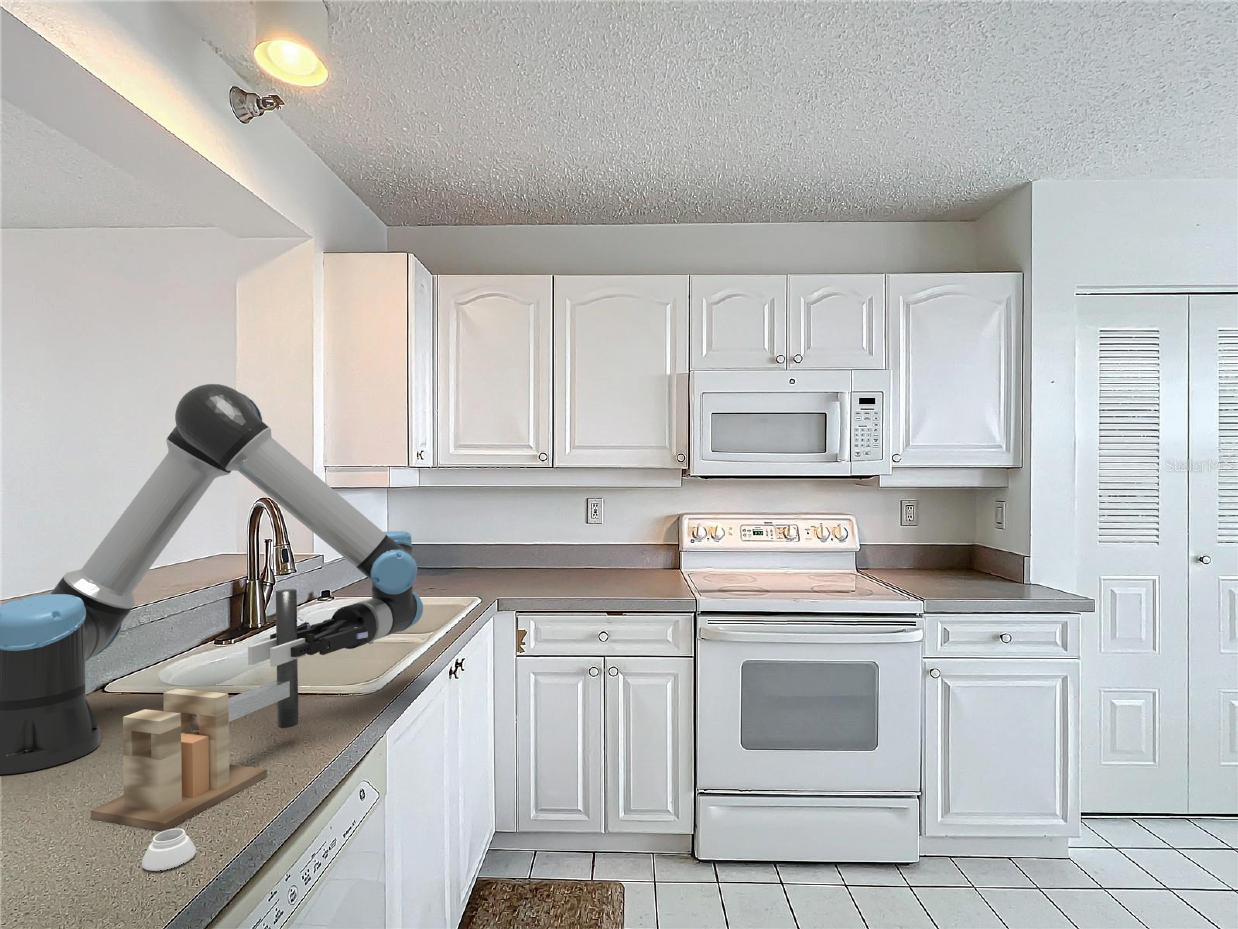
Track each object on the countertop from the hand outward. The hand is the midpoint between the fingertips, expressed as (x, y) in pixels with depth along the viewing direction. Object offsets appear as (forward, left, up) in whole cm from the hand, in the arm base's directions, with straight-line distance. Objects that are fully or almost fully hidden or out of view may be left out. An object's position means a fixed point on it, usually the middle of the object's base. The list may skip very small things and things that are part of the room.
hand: (261, 656), depth 109 cm
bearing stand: (0, -13, -15) cm, 20 cm away
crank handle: (0, -2, -12) cm, 12 cm away
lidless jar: (+12, -26, -15) cm, 33 cm away
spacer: (0, -14, -14) cm, 20 cm away
